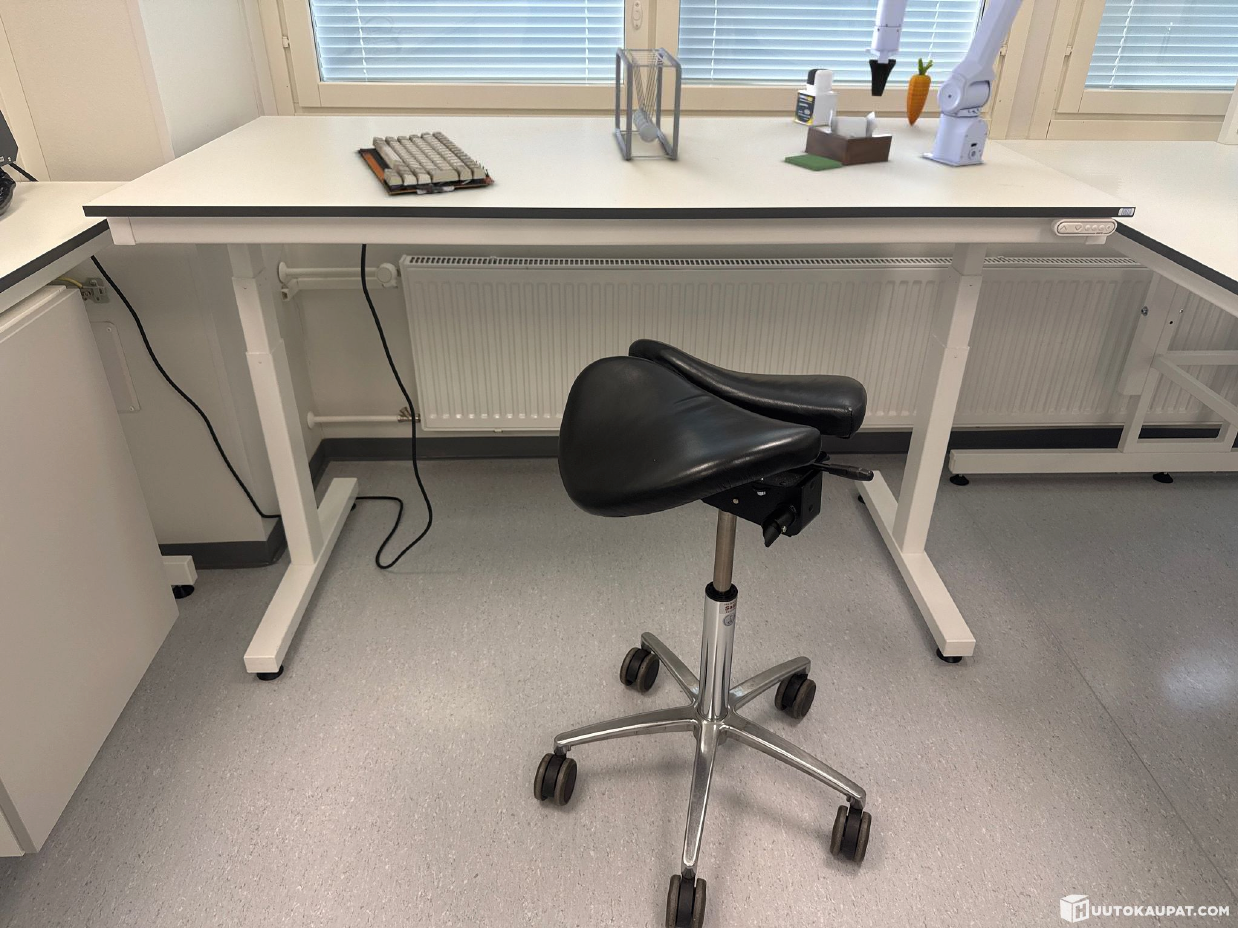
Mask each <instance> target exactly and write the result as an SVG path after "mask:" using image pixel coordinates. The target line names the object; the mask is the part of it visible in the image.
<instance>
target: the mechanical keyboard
mask: <svg viewBox="0 0 1238 928" xmlns="http://www.w3.org/2000/svg"><path fill="white" fill-rule="evenodd" d="M372 146H373V147H370V148H361V147H359V149H357V150H356V151H357V152H358V153H359V155H360V157H362V159H363V160H364V161H365V162H366V163H367V165H368V167H369V168H370V169H371V171H372V172H373V173H374V174H375V175H376V177H377V178H378V179H379V180H380V183H382V185H383V187H384V188H385V189H386V190H387V192H388V194H389V195H391V194H401V193H410V192H416V193H417V195H422V194H433V193H434V194H435V193H443V192H447V193H448V192H449V193H450V192H453V191H454V190H455V188H467V187H477V186H488V185H489V184H494V183H495V180H494V179H493V178H492V177H491V176H490V174H489V171H488V168H485V166H484V165H481V162H480V163H478V160H474V159H473V158H472V157H471V156H470V155H468V154H467V153H466V152H465V151H464V150H462V148H461V147H460V146H458V145H456V144H455V143H454V142H453V140H451V139H450V138H448V137H447V136H446V135H445V134H444V133H443V132H441V131H433V132H432V133H430V132H428V131H426V132H421V133H420V135H419V134H409V135H408V136H406V135H398V136H397V137H394V136H385V137H384V138H382V137H378V136H374V137H373V139H372Z"/></svg>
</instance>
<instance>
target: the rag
mask: <svg viewBox="0 0 1238 928" xmlns="http://www.w3.org/2000/svg"><path fill="white" fill-rule="evenodd" d="M784 162H786V163H789V164H792V165H795V166H798V167H802V168H804V169H805V168H806V169H809V170H812V171H822V170H828V169H830V170H831V169H836V168H841V167H842V166H843V165H842V163H841V162H838V161H834V160H831V159H827V158H823V157H820V156H816V155H813V154H810V153H807V154H798V155H794V156H793V155H791V156H786V157H784Z"/></svg>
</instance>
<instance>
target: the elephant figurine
mask: <svg viewBox="0 0 1238 928" xmlns="http://www.w3.org/2000/svg"><path fill="white" fill-rule="evenodd" d="M876 121H877V120H876V114H875V111H874V110H872V111H871V112H870V113H869V114H868V115H867V116H866V117H863V116H842V115H841V116H840V115H839V116H837V115H836V117H834V116H833V112H832V110H831V117H830V123H829V125H828V128H829V129H828V130H827V131H828V132H832V133H835V134H838V135H841V136H844V137H848V138H853V137H864V136H873V133H874V132H875V130H876V129H877V122H876Z"/></svg>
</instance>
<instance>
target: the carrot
mask: <svg viewBox="0 0 1238 928" xmlns="http://www.w3.org/2000/svg"><path fill="white" fill-rule="evenodd" d="M917 64H918V65H917V66H918V67H917V71H918V73H916V74H913V75H912V76H911V77H910V79H909V81H908V88H907V95H906V116H907V120H908V124H909V125H910V126H913V125H914V124H915V123H916V122H917V121H918V119H919V117H920V116H921V114H922V113H923V110H924V107H925V106H926V105H925V104H926V101H927V99H928V95H929V92H930V87H931V82H932V78H931V76H930V75H928V74H926V73H927V71H928V70H929V69H930V68H932V67H933V66H934V65H933V59H929V61H928V62H927V64H926V66H925V65H924V61H923V58H922V57H919V58H918V59H917Z"/></svg>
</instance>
